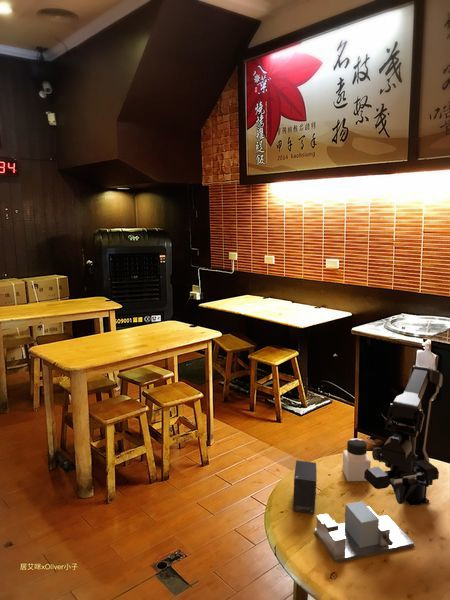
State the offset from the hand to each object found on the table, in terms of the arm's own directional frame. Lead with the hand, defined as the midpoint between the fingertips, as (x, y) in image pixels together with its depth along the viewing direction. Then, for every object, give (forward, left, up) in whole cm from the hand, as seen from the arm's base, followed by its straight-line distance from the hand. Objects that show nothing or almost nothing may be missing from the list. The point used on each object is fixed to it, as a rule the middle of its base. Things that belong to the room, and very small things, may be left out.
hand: (399, 503), depth 125 cm
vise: (+10, 0, -9) cm, 13 cm away
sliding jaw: (+7, 0, -7) cm, 10 cm away
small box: (+18, -19, -9) cm, 28 cm away
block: (+11, 0, -8) cm, 13 cm away
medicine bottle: (-4, -28, -9) cm, 30 cm away
